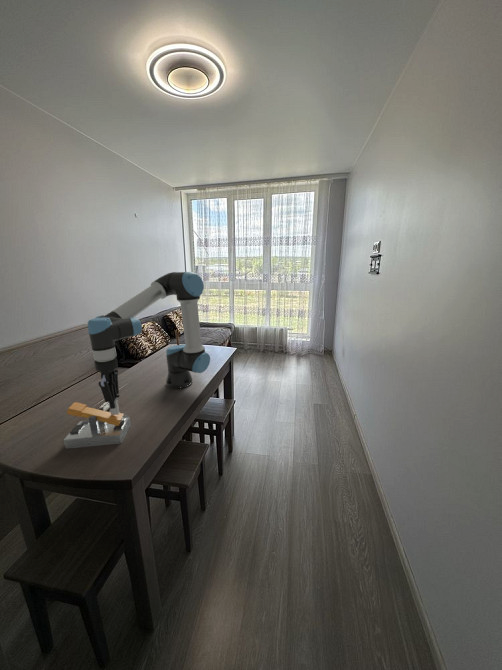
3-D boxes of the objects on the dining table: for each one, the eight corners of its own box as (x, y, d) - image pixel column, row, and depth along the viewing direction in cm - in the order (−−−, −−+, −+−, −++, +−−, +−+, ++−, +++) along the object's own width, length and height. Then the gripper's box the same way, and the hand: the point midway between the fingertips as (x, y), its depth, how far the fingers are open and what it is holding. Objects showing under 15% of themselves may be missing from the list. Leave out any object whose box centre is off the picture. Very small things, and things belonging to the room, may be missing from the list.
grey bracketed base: (130, 425, 110) (127, 402, 108) (121, 443, 99) (117, 418, 96) (81, 429, 108) (76, 406, 105) (65, 448, 96) (59, 423, 93)
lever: (122, 419, 105) (124, 413, 105) (118, 425, 101) (120, 420, 100) (73, 407, 101) (74, 401, 101) (66, 414, 96) (68, 408, 96)
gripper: (102, 353, 101) (111, 406, 107) (86, 365, 89) (98, 424, 95) (121, 352, 102) (130, 404, 108) (109, 364, 90) (119, 422, 96)
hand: (115, 413), depth 102 cm, fingers closed
